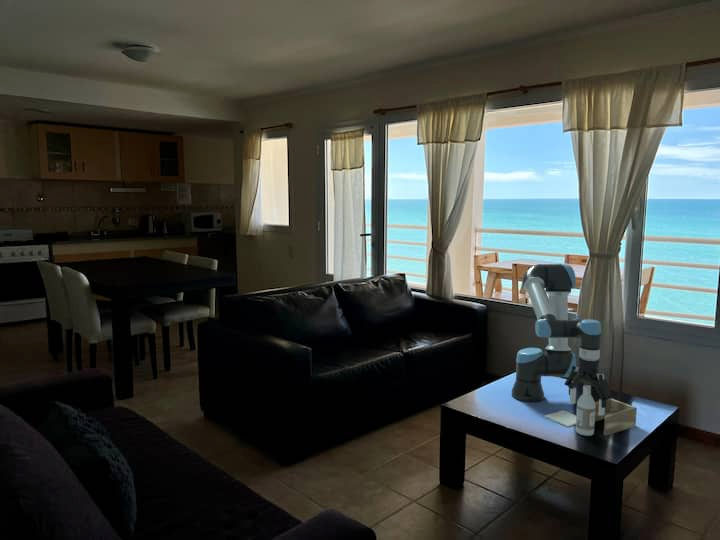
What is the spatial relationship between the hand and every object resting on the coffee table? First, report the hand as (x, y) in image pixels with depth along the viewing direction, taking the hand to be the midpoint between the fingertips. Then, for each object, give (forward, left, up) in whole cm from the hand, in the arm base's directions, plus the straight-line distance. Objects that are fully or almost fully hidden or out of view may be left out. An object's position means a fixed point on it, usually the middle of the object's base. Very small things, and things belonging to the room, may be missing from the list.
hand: (586, 409), depth 209 cm
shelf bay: (0, +14, -10) cm, 17 cm away
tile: (-13, +4, -10) cm, 17 cm away
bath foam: (0, 0, -10) cm, 10 cm away
